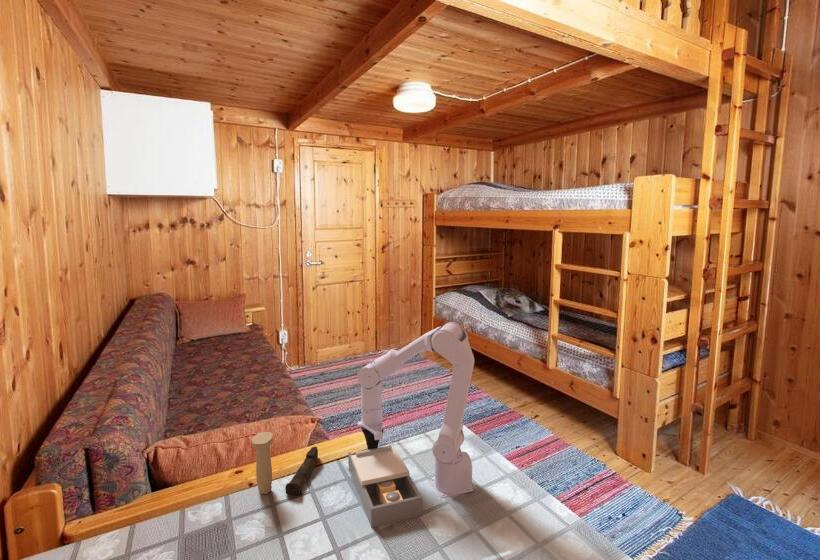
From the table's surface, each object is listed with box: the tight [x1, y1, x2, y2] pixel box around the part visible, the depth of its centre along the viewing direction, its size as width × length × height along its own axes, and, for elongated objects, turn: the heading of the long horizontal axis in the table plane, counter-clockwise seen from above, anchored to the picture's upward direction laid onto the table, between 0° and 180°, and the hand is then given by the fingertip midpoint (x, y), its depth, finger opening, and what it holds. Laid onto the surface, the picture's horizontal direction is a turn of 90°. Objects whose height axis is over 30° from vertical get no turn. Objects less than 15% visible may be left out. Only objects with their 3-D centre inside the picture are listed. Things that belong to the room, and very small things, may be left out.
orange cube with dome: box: [383, 490, 403, 504], centre depth 103 cm, size 4×4×4 cm
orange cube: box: [376, 479, 396, 504], centre depth 109 cm, size 4×4×4 cm
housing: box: [347, 444, 423, 529], centre depth 112 cm, size 13×26×5 cm, turn 20°
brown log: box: [284, 445, 319, 498], centre depth 119 cm, size 19×4×5 cm, turn 170°
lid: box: [351, 445, 410, 486], centre depth 114 cm, size 13×13×2 cm
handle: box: [251, 431, 274, 495], centre depth 111 cm, size 5×6×15 cm
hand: (372, 451), depth 121 cm, fingers closed
